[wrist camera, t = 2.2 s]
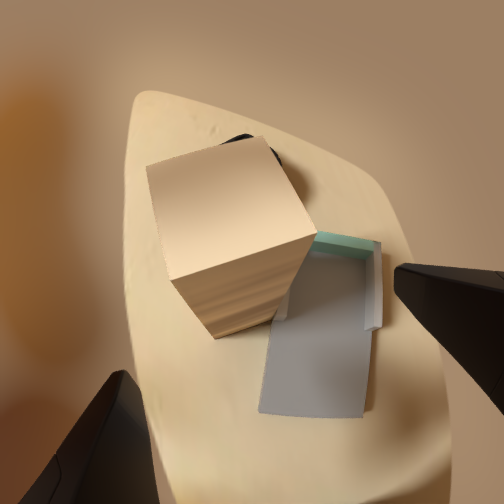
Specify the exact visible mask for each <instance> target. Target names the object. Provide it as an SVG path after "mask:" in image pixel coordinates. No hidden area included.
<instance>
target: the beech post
mask: <svg viewBox="0 0 504 504" xmlns="http://www.w3.org/2000/svg"><path fill="white" fill-rule="evenodd" d="M146 171H147V177H148V183H149V188H150V194H151V199H152V204H153V209H154V214H155V219H156V224H157V228H158V233H159V237H160V241H161V246H162V250H163V254H164V258H165V262H166V266H167V270H168V274H169V278H170V281H171V282H172V284H173V285H174V286H175V288H176V289H177V291H178V292H179V293H180V295H181V296H182V297H183V299H184V300H185V301H186V303H187V304H188V305H189V307H190V308H191V309H192V311H193V312H194V313H195V315H196V316H197V317H198V319H199V320H200V321H201V323H202V324H203V325H204V326H205V328H206V329H207V330H208V331H209V333H210V334H211V335H212V336H213V338H214V339H217V338H220V337H223V336H226V335H229V334H232V333H235V332H238V331H241V330H244V329H246V328H249V327H252V326H255V325H258V324H260V323H263V322H266V321H268V320H271V319H272V317H273V316H274V314H275V312H276V310H277V308H278V307H279V305H280V303H281V301H282V299H283V298H284V296H285V294H286V292H287V290H288V288H289V287H290V285H291V283H292V281H293V279H294V277H295V275H296V274H297V272H298V270H299V268H300V266H301V264H302V262H303V260H304V258H305V256H306V255H307V253H308V251H309V249H310V247H311V245H312V243H313V241H314V239H315V237H316V235H317V233H318V232H317V230H316V228H315V226H314V224H313V222H312V221H311V219H310V217H309V215H308V213H307V211H306V209H305V208H304V206H303V204H302V202H301V200H300V199H299V197H298V195H297V193H296V191H295V190H294V188H293V186H292V184H291V183H290V181H289V179H288V178H287V176H286V174H285V172H284V171H283V169H282V167H281V166H280V164H279V162H278V161H277V159H276V157H275V156H274V154H273V152H272V151H271V149H270V147H269V146H268V144H267V142H266V141H265V139H264V138H263V136H258V137H253V138H248V139H244V140H239V141H235V142H230V143H226V144H222V145H218V146H214V147H210V148H206V149H203V150H199V151H195V152H192V153H188V154H185V155H181V156H178V157H174V158H171V159H168V160H165V161H161V162H158V163H155V164H152V165H149V166H146Z"/></svg>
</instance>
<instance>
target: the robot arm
mask: <svg viewBox="0 0 504 504" xmlns="http://www.w3.org/2000/svg"><path fill="white" fill-rule="evenodd" d="M394 291H395V294H396V295H397V296H398V297H399V299H400V300H401V301H402V302H403V303H404V304H405V306H406V307H407V308H408V309H409V310H410V312H411V313H412V314H413V315H414V316H415V318H416V319H417V320H418V321H419V322H420V323H421V324H422V326H423V327H424V328H425V329H426V330H427V331H428V332H429V333H430V334H431V335H432V336H433V337H434V338H435V339H436V340H437V341H438V342H439V343H440V344H441V345H442V346H443V347H444V348H445V349H446V350H447V351H448V352H449V353H450V354H451V355H452V356H453V357H454V359H455V360H456V361H457V362H458V363H459V364H460V365H461V366H462V367H463V368H464V369H465V370H466V372H467V373H468V374H469V375H470V376H471V377H472V378H473V379H474V381H475V382H476V383H477V384H478V385H479V386H480V387H481V389H482V390H483V391H484V392H485V393H486V394H487V395H488V397H489V398H490V399H491V401H492V402H493V403H494V404H495V405H496V407H497V408H498V409H499V410H500V411H501V413H502V414H503V415H504V272H501V271H489V270H479V269H468V268H457V267H445V266H434V265H422V264H412V263H403V264H401V265H399V266H397V267H396V268H395V270H394ZM18 504H160V502H159V497H158V491H157V485H156V480H155V473H154V466H153V459H152V452H151V443H150V436H149V430H148V426H147V421H146V416H145V411H144V405H143V400H142V394H141V391H140V389H139V387H138V385H137V384H136V383H135V381H134V380H133V379H132V377H131V376H130V374H129V373H128V372H127V371H126V370H119V371H115V372H113V373H112V374H111V375H110V377H109V378H108V379H107V381H106V382H105V383H104V385H103V386H102V387H101V389H100V390H99V392H98V393H97V394H96V396H95V397H94V398H93V400H92V401H91V402H90V404H89V405H88V407H87V408H86V409H85V411H84V412H83V414H82V415H81V416H80V418H79V419H78V421H77V422H76V423H75V425H74V426H73V428H72V429H71V431H70V432H69V433H68V435H67V436H66V438H65V439H64V441H63V442H62V444H61V445H60V447H59V448H58V449H57V451H56V454H54V456H53V457H52V458H51V460H50V461H49V463H48V464H47V466H46V467H45V469H44V470H43V472H42V473H41V474H40V476H39V477H38V478H37V480H36V481H35V483H34V484H33V485H32V486H31V488H30V489H29V490H28V491H27V493H26V494H25V495H24V497H23V498H22V499H21V500H20V502H19V503H18Z"/></svg>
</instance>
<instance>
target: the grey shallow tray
mask: <svg viewBox="0 0 504 504" xmlns="http://www.w3.org/2000/svg"><path fill="white" fill-rule="evenodd" d="M317 232H318V233H317V235H316V237H315V239H314V241H313V243H312V245H311V247H310V249H309V251H308V253H307V255H306V256H305V258H304V260H303V262H302V264H301V266H300V268H299V270H298V272H297V274H296V275H295V277H294V279H293V281H292V283H291V285H290V287H289V288H288V290H287V292H286V294H285V296H284V298H283V299H282V301H281V303H280V305H279V307H278V308H277V310H276V312H275V314H274V316H273V317H272V324H271V331H270V337H269V344H268V351H267V357H266V364H265V370H264V376H263V382H262V388H261V394H260V400H259V406H258V412H259V413H264V414H272V415H283V416H295V417H311V418H363V413H364V406H365V399H366V392H367V384H368V375H369V365H370V353H371V339H372V331H374V330H376V329H379V328H381V327H382V312H383V283H382V255H381V242H376V241H371V240H366V239H361V238H355V237H350V236H344V235H339V234H333V233H328V232H322V231H317Z"/></svg>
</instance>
